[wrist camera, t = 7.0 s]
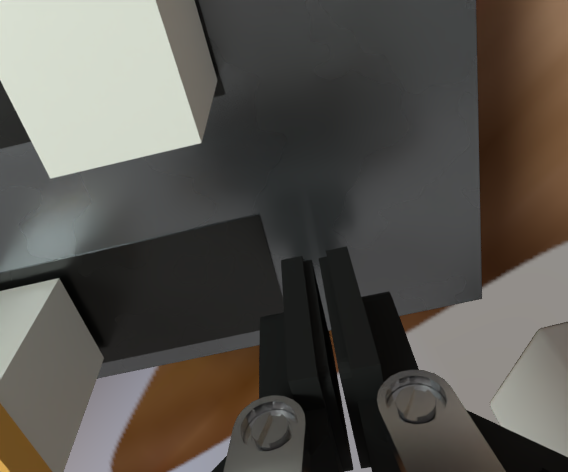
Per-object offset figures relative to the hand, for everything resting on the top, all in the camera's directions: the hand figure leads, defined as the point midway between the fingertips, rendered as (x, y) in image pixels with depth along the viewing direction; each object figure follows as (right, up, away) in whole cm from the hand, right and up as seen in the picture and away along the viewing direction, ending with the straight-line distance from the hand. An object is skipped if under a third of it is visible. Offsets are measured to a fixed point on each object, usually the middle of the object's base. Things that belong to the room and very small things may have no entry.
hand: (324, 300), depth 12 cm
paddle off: (-4, +6, -2) cm, 8 cm away
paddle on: (-8, -1, +2) cm, 8 cm away
